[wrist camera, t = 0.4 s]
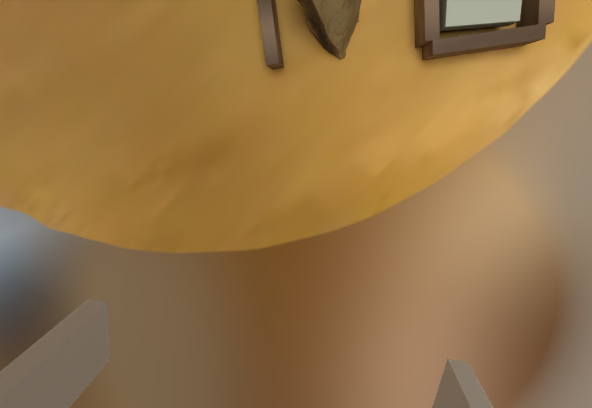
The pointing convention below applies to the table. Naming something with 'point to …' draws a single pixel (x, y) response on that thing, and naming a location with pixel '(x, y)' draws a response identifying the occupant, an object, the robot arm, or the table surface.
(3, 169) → the table surface
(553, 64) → the table surface
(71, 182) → the table surface
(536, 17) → the brown frame and bar
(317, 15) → the rock
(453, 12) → the pale grey-green block
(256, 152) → the table surface
